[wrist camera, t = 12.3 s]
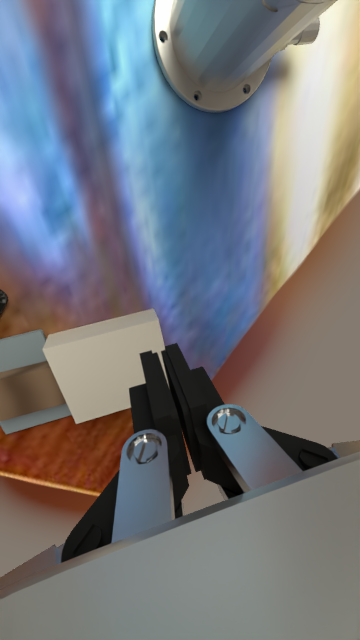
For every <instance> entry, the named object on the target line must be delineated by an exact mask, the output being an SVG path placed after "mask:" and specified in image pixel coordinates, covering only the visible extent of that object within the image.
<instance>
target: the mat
mask: <svg viewBox="0 0 360 640" xmlns="http://www.w3.org/2000/svg"><path fill="white" fill-rule="evenodd" d="M45 342H46V338H45V335H44V333H43V331H42V329H40V330H36V331H32V332H28V333H24V334H19V335H15V336H11V337H7V338H3V339H0V372H3V371H7V370H11V369H15V368H19V367H23V366H28V365H32V364H36V363H40V362H44V361H47V359H46V357H45V355H44V352H43V350H42V349H43V347H44V345H45ZM70 415H72V414H71V412H70V409H69V407H68V405H67V403H66V404H62V405H59V406H55V407H51V408H48V409H44V410H40V411H37V412H33V413H30V414H26V415H22V416H19V417H15V418H11V419H8V420H4V421H0V425H1V427H2V429H3V430H4V432H5V433H6V434H9V433H12V432H16V431H19V430H23V429H26V428H29V427H33V426H36V425H39V424H43V423H46V422H49V421H53V420H56V419H60V418H63V417H66V416H70Z"/></svg>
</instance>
